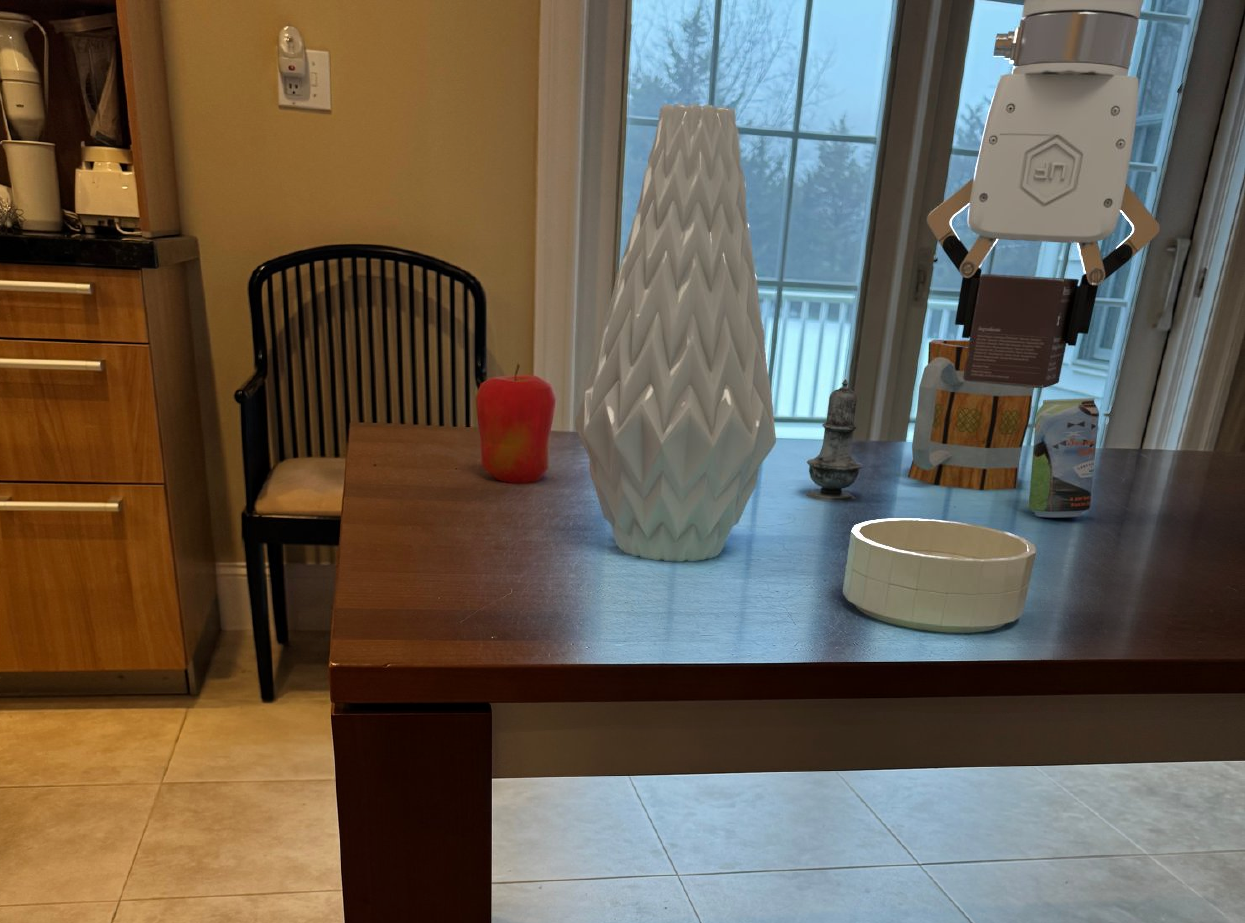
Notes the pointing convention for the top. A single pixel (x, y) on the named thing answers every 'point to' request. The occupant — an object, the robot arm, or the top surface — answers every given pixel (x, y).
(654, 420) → the vase
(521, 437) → the apple
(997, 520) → the top surface
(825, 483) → the salt shaker
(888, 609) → the bowl
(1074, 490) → the beverage can
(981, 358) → the box
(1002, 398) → the mug
